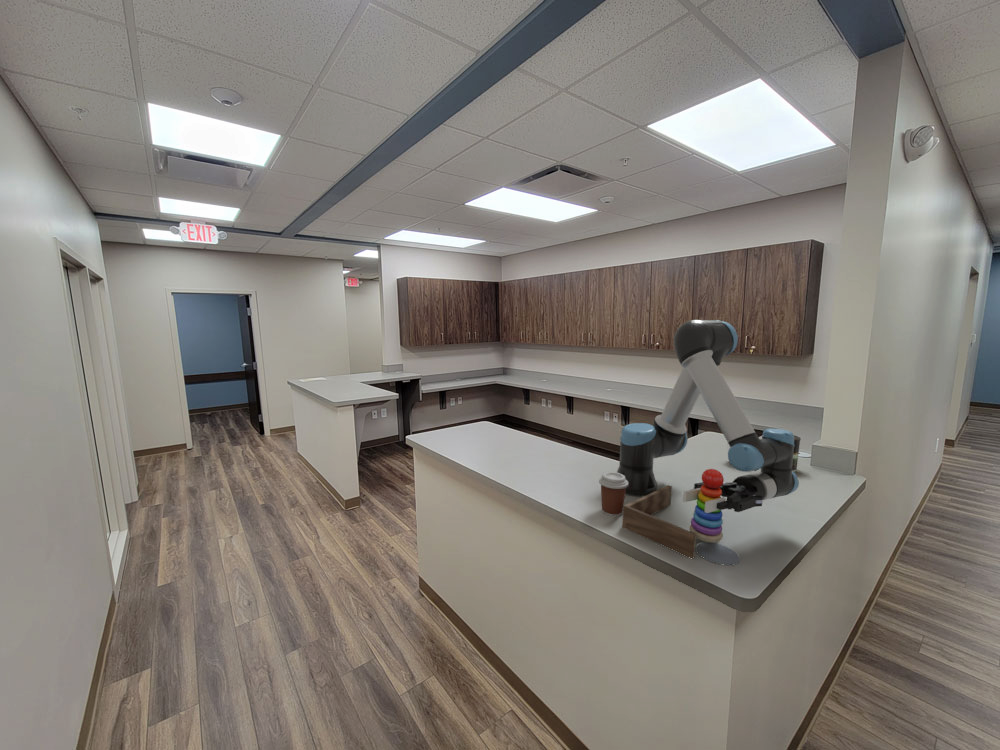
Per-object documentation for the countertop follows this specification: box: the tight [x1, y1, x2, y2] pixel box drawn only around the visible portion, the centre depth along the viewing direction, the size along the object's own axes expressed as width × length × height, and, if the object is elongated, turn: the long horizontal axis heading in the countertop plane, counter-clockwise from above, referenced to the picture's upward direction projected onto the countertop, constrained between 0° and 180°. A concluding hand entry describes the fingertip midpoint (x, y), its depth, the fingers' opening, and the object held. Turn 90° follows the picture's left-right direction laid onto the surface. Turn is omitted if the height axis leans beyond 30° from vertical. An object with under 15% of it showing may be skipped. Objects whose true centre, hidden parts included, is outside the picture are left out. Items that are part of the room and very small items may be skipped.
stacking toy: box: [689, 468, 725, 543], centre depth 105 cm, size 8×8×19 cm
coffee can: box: [792, 434, 802, 473], centre depth 169 cm, size 10×10×14 cm
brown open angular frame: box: [621, 484, 696, 559], centre depth 118 cm, size 26×21×6 cm
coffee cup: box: [598, 471, 629, 517], centre depth 127 cm, size 9×9×12 cm
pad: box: [695, 541, 740, 566], centre depth 104 cm, size 10×10×1 cm
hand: (695, 501), depth 103 cm, fingers closed on stacking toy, 6 cm apart
